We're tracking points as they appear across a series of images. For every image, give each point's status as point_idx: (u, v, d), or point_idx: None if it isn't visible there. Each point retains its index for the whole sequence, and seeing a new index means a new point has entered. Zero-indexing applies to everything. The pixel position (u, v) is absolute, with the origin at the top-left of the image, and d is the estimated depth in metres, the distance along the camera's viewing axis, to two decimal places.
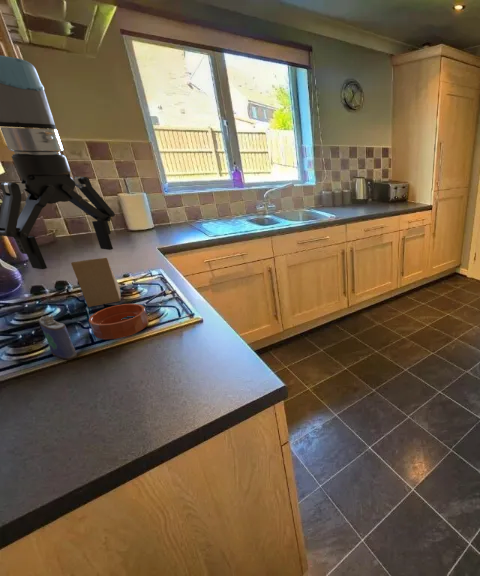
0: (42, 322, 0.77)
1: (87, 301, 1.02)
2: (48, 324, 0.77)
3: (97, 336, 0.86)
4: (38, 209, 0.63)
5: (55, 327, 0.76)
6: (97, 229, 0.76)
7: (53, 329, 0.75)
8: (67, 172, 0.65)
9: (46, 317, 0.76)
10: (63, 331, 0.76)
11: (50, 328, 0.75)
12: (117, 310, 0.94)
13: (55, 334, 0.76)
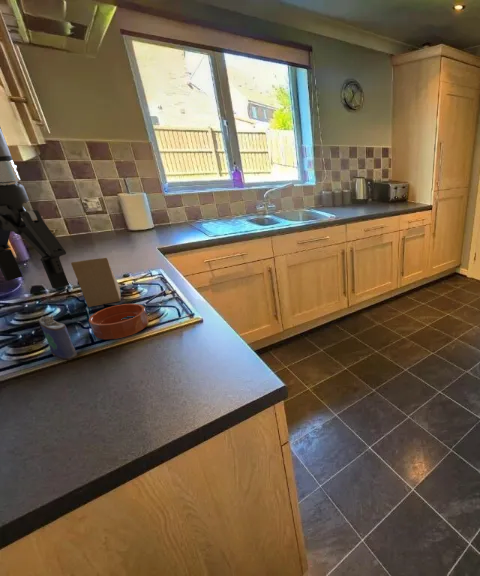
0: (42, 322, 0.77)
1: (87, 301, 1.02)
2: (48, 324, 0.77)
3: (97, 336, 0.86)
4: None
5: (55, 327, 0.76)
6: (3, 260, 0.72)
7: (53, 329, 0.75)
8: None
9: (46, 317, 0.76)
10: (63, 331, 0.76)
11: (50, 328, 0.75)
12: (117, 310, 0.94)
13: (55, 334, 0.76)
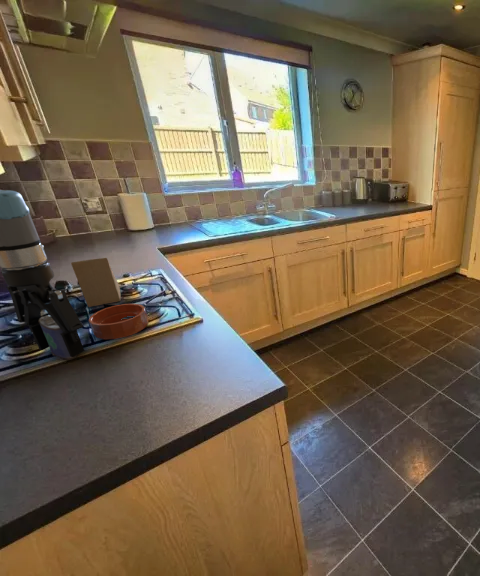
0: (42, 322, 0.77)
1: (87, 301, 1.02)
2: (48, 324, 0.77)
3: (97, 336, 0.86)
4: None
5: (55, 327, 0.76)
6: (38, 332, 0.79)
7: (53, 329, 0.75)
8: None
9: (46, 317, 0.76)
10: None
11: (50, 328, 0.75)
12: (117, 310, 0.94)
13: (55, 334, 0.76)
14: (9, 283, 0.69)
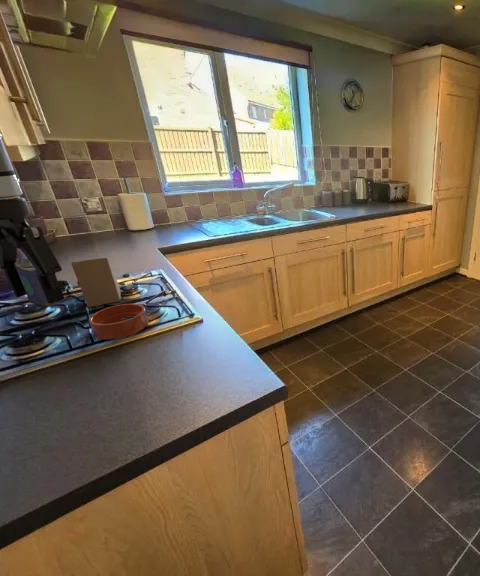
0: (18, 265, 0.72)
1: (87, 301, 1.02)
2: (24, 267, 0.71)
3: (97, 336, 0.86)
4: None
5: (31, 269, 0.70)
6: (13, 277, 0.73)
7: (29, 271, 0.70)
8: None
9: (22, 259, 0.71)
10: None
11: (26, 270, 0.70)
12: (117, 310, 0.94)
13: (31, 277, 0.70)
14: None
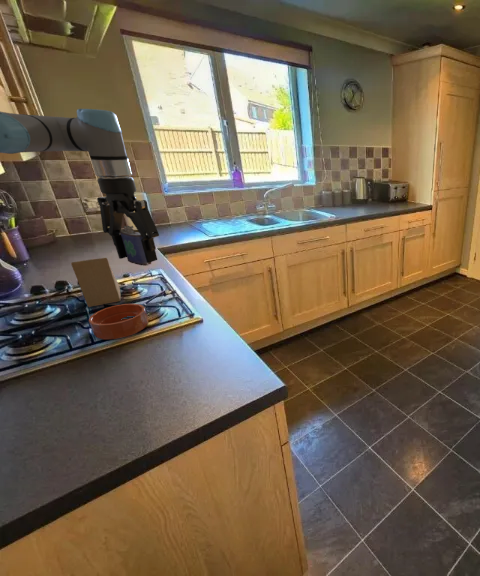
0: (124, 232, 0.91)
1: (87, 301, 1.02)
2: (129, 233, 0.90)
3: (97, 336, 0.86)
4: None
5: (136, 234, 0.89)
6: (119, 242, 0.92)
7: (135, 236, 0.89)
8: None
9: (128, 226, 0.90)
10: (142, 238, 0.90)
11: (132, 235, 0.89)
12: (117, 310, 0.94)
13: (136, 241, 0.89)
14: (104, 190, 0.83)
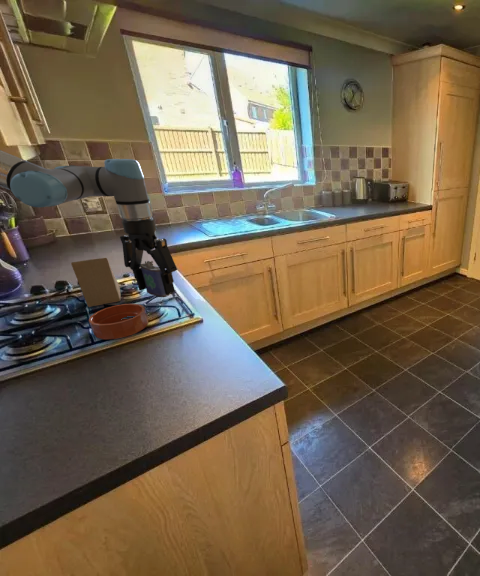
0: (144, 266, 0.98)
1: (87, 301, 1.02)
2: (149, 267, 0.97)
3: (97, 336, 0.86)
4: None
5: (156, 269, 0.96)
6: (139, 275, 0.99)
7: (155, 271, 0.96)
8: None
9: (148, 262, 0.97)
10: None
11: (152, 270, 0.96)
12: (117, 310, 0.94)
13: (156, 275, 0.96)
14: (128, 231, 0.90)
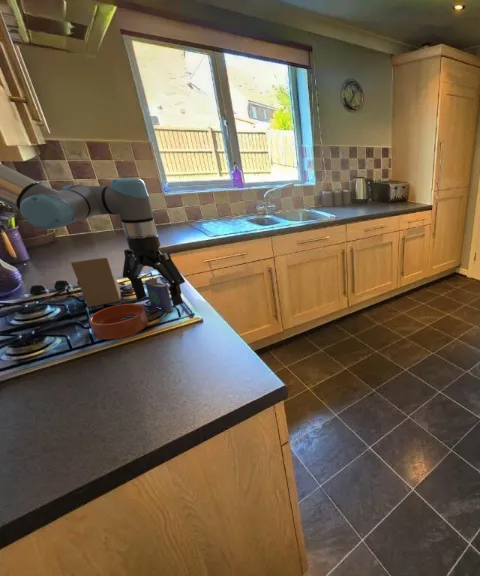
0: (149, 283, 1.00)
1: (87, 301, 1.02)
2: (154, 284, 0.99)
3: (97, 336, 0.86)
4: None
5: (160, 286, 0.98)
6: (137, 285, 1.01)
7: (159, 287, 0.98)
8: None
9: (153, 278, 0.99)
10: (166, 289, 0.99)
11: (157, 287, 0.98)
12: (117, 310, 0.94)
13: (160, 291, 0.98)
14: (133, 248, 0.92)
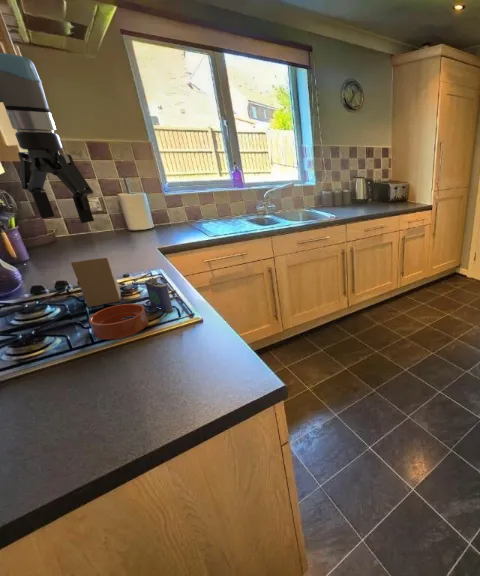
0: (149, 283, 1.00)
1: (87, 301, 1.02)
2: (154, 284, 0.99)
3: (97, 336, 0.86)
4: None
5: (160, 286, 0.98)
6: (39, 200, 0.86)
7: (159, 287, 0.98)
8: None
9: (153, 278, 0.99)
10: (166, 289, 0.99)
11: (157, 287, 0.98)
12: (117, 310, 0.94)
13: (160, 291, 0.98)
14: (22, 145, 0.77)
